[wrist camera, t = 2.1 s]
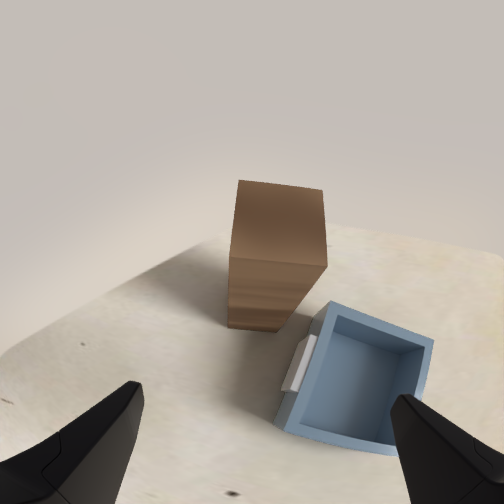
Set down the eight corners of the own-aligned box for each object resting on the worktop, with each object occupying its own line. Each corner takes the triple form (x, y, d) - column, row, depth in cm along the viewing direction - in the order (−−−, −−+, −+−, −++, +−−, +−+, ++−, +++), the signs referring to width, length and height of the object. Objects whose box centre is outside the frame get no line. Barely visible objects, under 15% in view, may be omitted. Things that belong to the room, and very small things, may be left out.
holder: (375, 450, 19) (402, 457, 15) (265, 421, 20) (274, 428, 16) (405, 350, 23) (433, 339, 19) (306, 314, 24) (322, 297, 20)
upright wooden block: (276, 332, 23) (327, 266, 12) (227, 328, 23) (229, 256, 12) (278, 286, 25) (322, 190, 14) (232, 282, 25) (238, 179, 13)
